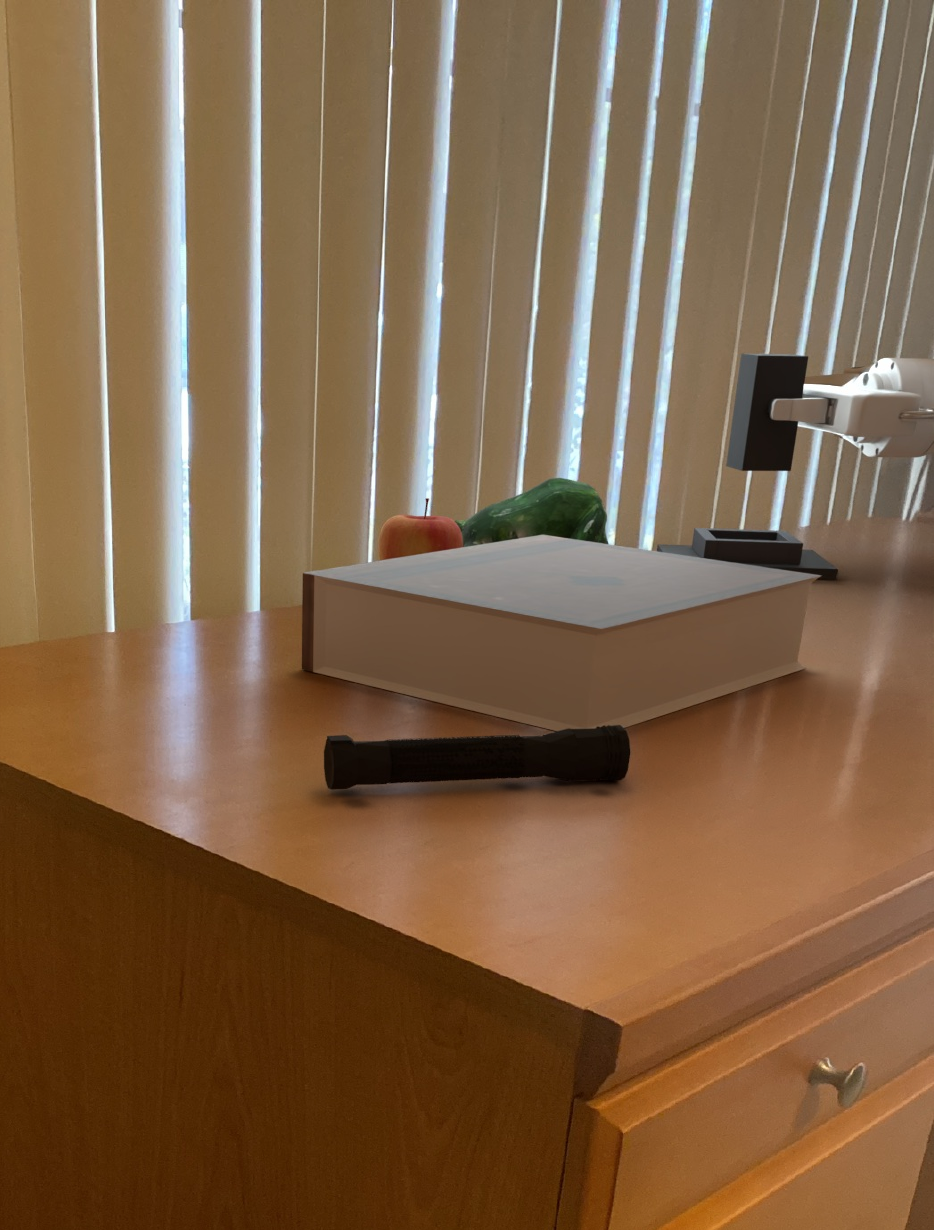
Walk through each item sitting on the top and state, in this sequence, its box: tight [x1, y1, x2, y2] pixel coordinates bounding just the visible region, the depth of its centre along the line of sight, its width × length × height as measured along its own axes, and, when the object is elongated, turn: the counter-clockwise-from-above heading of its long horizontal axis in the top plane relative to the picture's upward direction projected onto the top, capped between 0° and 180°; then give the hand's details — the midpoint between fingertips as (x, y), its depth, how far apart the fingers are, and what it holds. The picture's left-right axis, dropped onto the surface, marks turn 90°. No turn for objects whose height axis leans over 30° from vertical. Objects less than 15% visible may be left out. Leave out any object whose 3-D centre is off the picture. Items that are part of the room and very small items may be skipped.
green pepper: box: [453, 477, 609, 547], centre depth 136 cm, size 14×9×15 cm
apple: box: [377, 497, 463, 561], centre depth 126 cm, size 7×7×8 cm
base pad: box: [656, 527, 839, 581], centre depth 146 cm, size 16×12×3 cm
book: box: [301, 535, 822, 732], centre depth 103 cm, size 24×28×6 cm
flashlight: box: [323, 725, 632, 790], centre depth 79 cm, size 3×16×3 cm, turn 102°
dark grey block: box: [725, 353, 809, 472], centre depth 139 cm, size 5×4×10 cm
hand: (758, 407), depth 139 cm, fingers closed on dark grey block, 4 cm apart
